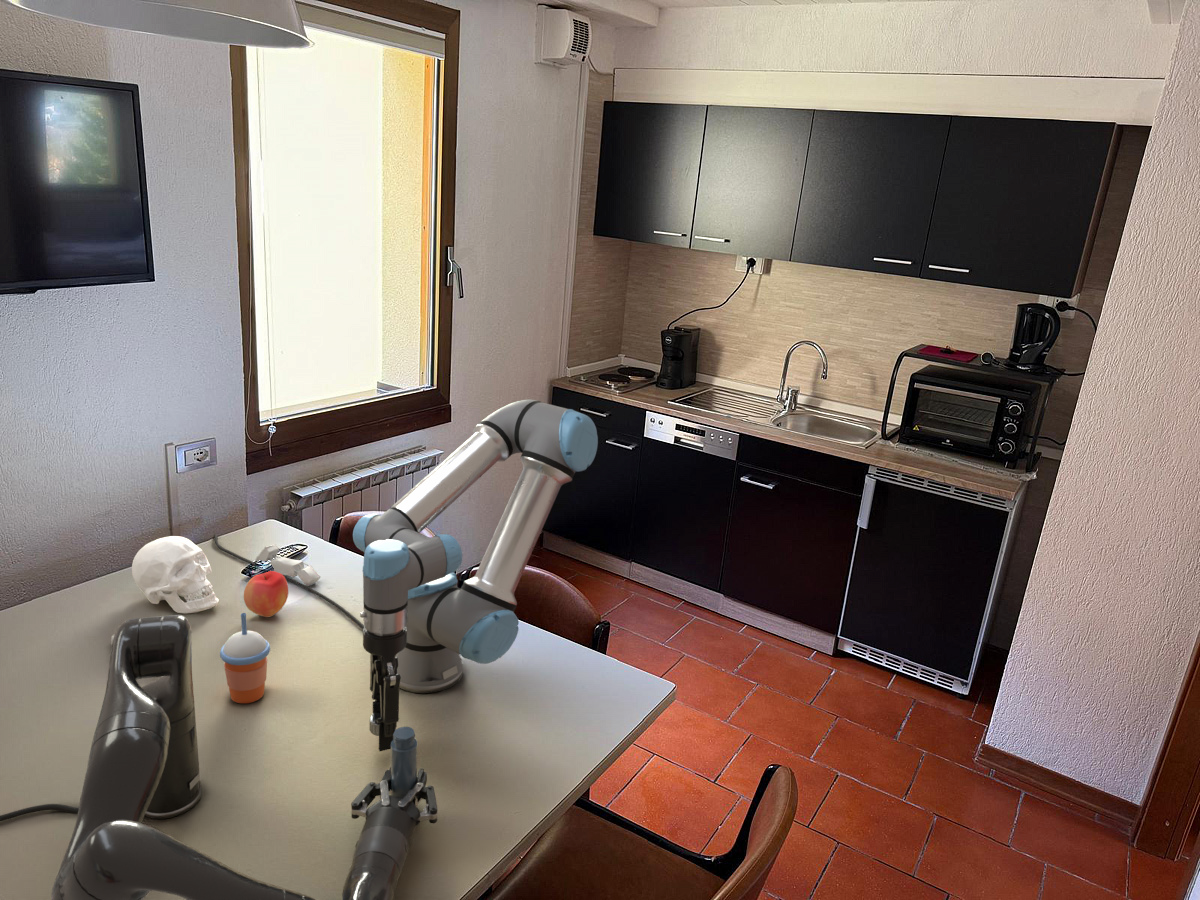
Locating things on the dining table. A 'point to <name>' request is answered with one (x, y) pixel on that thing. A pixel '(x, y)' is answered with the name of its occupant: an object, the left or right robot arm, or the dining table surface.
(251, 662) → the cup with straw
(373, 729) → the lid
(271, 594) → the apple
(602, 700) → the dining table surface
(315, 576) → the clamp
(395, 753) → the blue thermos bottle
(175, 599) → the skull
